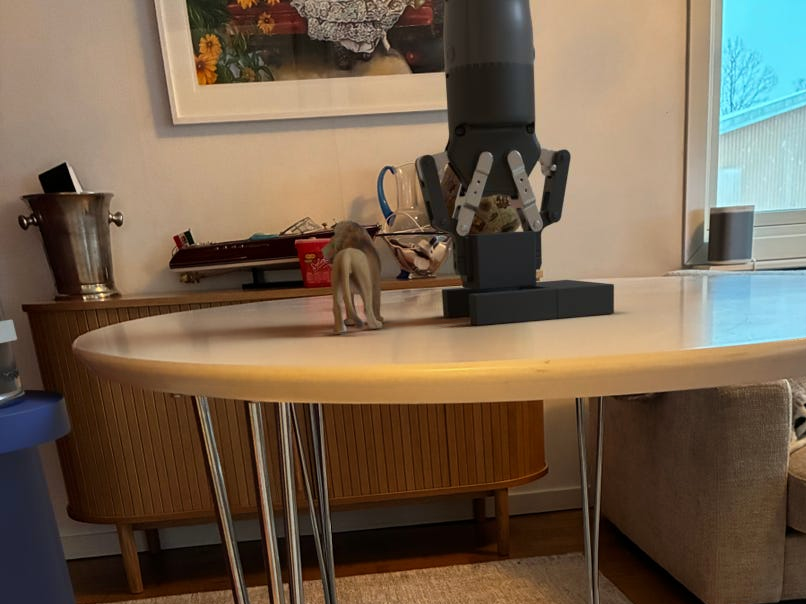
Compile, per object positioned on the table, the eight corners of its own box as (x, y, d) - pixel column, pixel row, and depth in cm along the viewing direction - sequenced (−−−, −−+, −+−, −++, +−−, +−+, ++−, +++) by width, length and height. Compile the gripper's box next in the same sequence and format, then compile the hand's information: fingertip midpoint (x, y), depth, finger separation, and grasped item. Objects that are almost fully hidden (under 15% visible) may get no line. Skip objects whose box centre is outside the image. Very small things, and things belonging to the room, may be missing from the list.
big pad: (476, 325, 83) (474, 295, 82) (443, 316, 93) (441, 289, 92) (614, 313, 86) (614, 284, 85) (568, 306, 96) (567, 279, 95)
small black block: (479, 289, 85) (476, 234, 83) (462, 287, 89) (459, 235, 88) (536, 285, 86) (535, 231, 84) (516, 283, 91) (515, 231, 89)
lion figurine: (328, 322, 94) (317, 222, 90) (383, 318, 95) (374, 218, 91) (333, 337, 80) (320, 220, 77) (396, 332, 81) (386, 216, 78)
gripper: (552, 70, 86) (556, 273, 93) (396, 73, 82) (412, 283, 89) (585, 56, 79) (587, 275, 86) (417, 58, 76) (432, 286, 82)
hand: (498, 278), depth 87 cm, fingers closed on small black block, 5 cm apart
